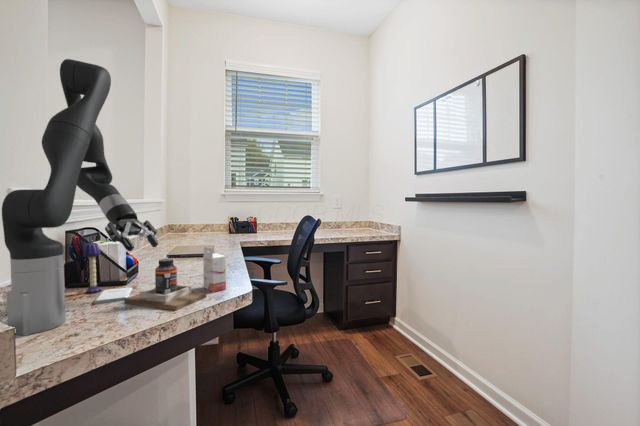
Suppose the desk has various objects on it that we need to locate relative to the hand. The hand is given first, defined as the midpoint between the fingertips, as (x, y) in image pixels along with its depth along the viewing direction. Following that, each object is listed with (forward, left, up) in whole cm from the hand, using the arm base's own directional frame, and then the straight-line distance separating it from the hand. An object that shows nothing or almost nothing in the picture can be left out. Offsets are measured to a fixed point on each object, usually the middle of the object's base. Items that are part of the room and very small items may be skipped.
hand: (144, 247), depth 92 cm
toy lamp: (-2, +21, -16) cm, 27 cm away
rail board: (0, -9, -16) cm, 18 cm away
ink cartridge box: (+15, -15, -16) cm, 26 cm away
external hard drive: (-3, +10, -17) cm, 20 cm away
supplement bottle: (0, -8, -15) cm, 17 cm away
